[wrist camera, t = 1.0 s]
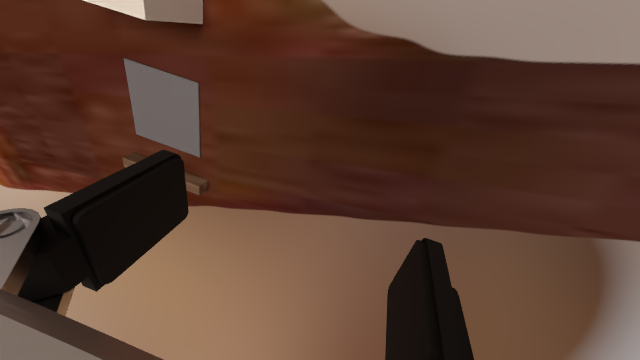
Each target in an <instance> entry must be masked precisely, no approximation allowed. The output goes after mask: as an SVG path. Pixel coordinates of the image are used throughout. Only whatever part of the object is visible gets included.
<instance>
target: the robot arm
mask: <svg viewBox="0 0 640 360" xmlns="http://www.w3.org/2000/svg"><path fill="white" fill-rule="evenodd" d="M44 209H45V211H46V213H47V216H45V217H43V218H41V217H40V215H39V213H38V212H36V211H34V210H32V209H25V208H17V209H8V210H2V211H0V360H163V359H161V358H158V357H156V356H154V355H152V354H149V353H147V352H145V351H143V350H140V349H138V348H136V347H134V346H131V345H129V344H127V343H125V342H122V341H120V340H118V339H116V338H113V337H111V336H109V335H106V334H104V333H102V332H100V331H97V330H95V329H93V328H91V327H88V326H86V325H84V324H81V323H79V322H77V321H74V320H72V319H70V318H67V317H65V316H66V313H67V310H68V306H69V304H70V300H71V297H72V294H73V291H74V288H75V286H77V285H78V284H79V283H80V282H81V283H82V285H83V286H85V287H87V288H90V289H92V290H94V291H98V290H99V289H100V288H101V287H103V286H104V285H105V284H108V283H110V282H112V281H114V280H115V279H116V278H117V277H118V276H119V275H121V274H122V273H123V272H124V271H125V270H126V269H128V268H129V267H130V266H131V265H132V264H133V263H135V262H136V261H137V260H138V259H139V258H140V257H141V256H143V255H144V254H145V253H146V252H147V251H148V250H150V249H151V248H152V247H153V246H154V245H155V244H156V243H158V242H159V241H160V240H161V239H162V238H163V237H165V236H166V235H167V234H168V233H169V232H170V231H172V230H173V229H174V228H175V227H176V226H177V225H178V224H180V223H181V222H182V221H183V220H184V219H185V218H186V217H187V215H188V201H187V191H186V181H185V171H184V162H183V160H181V157H180V156H179V155H178V154H175V153H172V152H169V151H166V150H162V151H159V152H157V153H155V154H153V155H151V156H149V157H147V158H145V159H143V160H141V161H139V162H137V163H135V164H132V165H130V166H128V167H126V168H124V169H122V170H120V171H118V172H116V173H114V174H112V175H110V176H108V177H106V178H104V179H102V180H100V181H98V182H96V183H93V184H91V185H89V186H87V187H85V188H83V189H81V190H79V191H77V192H75V193H73V194H71V195H69V196H67V197H65V198H63V199H61V200H59V201H57V202H54V203H52V204H50V205H48V206H46V207H44ZM386 328H387V329H386V356H385V360H474V357H473V353H472V349H471V345H470V341H469V336H468V332H467V328H466V324H465V320H464V316H463V312H462V307H461V303H460V299H459V295H458V293H457V291H456V290H455V289H454V288H452V286H451V282H450V277H449V272H448V268H447V263H446V259H445V254H444V250H443V246H442V244H441V243H439V242H436V241H433V240H430V239H427V238H424V239H422V241H420V240H417V241H416V242H415V244H414V245H413V247H412V249H411V250H410V252H409V254H408V255H407V257H406V259H405V261H404V262H403V264H402V265H401V267H400V269H399V271H398V272H397V274H396V276H395V277H394V279H393V281H392V282H391V284H390V286H389V289H388V298H387V327H386Z"/></svg>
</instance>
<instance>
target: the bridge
mask: <svg viewBox="0 0 640 360" xmlns="http://www.w3.org/2000/svg"><path fill="white" fill-rule="evenodd" d="M84 1H87V2H90V3H93V4H96V5H99V6H103V7H106V8H109V9H112V10H115V11H118V12H122V13H125V14H128V15H131V16H134V17H137V18H141V19H144V20H151V21H165V22H179V23H193V24H203V0H84Z"/></svg>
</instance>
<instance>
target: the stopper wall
mask: <svg viewBox="0 0 640 360" xmlns="http://www.w3.org/2000/svg"><path fill="white" fill-rule="evenodd" d="M145 158H147V157H145V156H142V155H140V154H137V153H132V154H129V155H127V156H125V157H123V163H124V167H128V166H130V165H132V164H135V163H137V162H139V161H141V160H143V159H145ZM185 181H186V190H187V191H190V192H192V193H195V194H198V195H200V194H202V193H203V192H204V191H205V190H207V189H208V180H207V179H204V178H201V177H199V176H196V175H193V174H191V173H188V172H185Z"/></svg>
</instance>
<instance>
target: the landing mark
mask: <svg viewBox="0 0 640 360" xmlns="http://www.w3.org/2000/svg"><path fill="white" fill-rule="evenodd" d="M124 63H125V69H126V74H127V80H128V86H129V92H130V98H131V104H132V110H133V116H134V122H135V128H136V134H137V135H140V136H143V137H146V138H148V139H151V140H154V141H157V142H159V143H162V144H165V145H168V146H170V147H173V148H176V149H179V150H181V151H184V152H187V153H190V154H192V155H195V156H198V157H200V106H199V83H197V82H194V81H192V80H189V79H186V78H183V77H180V76H177V75H174V74H171V73H168V72H165V71H162V70H159V69H156V68H153V67H150V66H147V65H144V64H141V63H138V62H135V61H132V60H129V59H126V58H124Z"/></svg>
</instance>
